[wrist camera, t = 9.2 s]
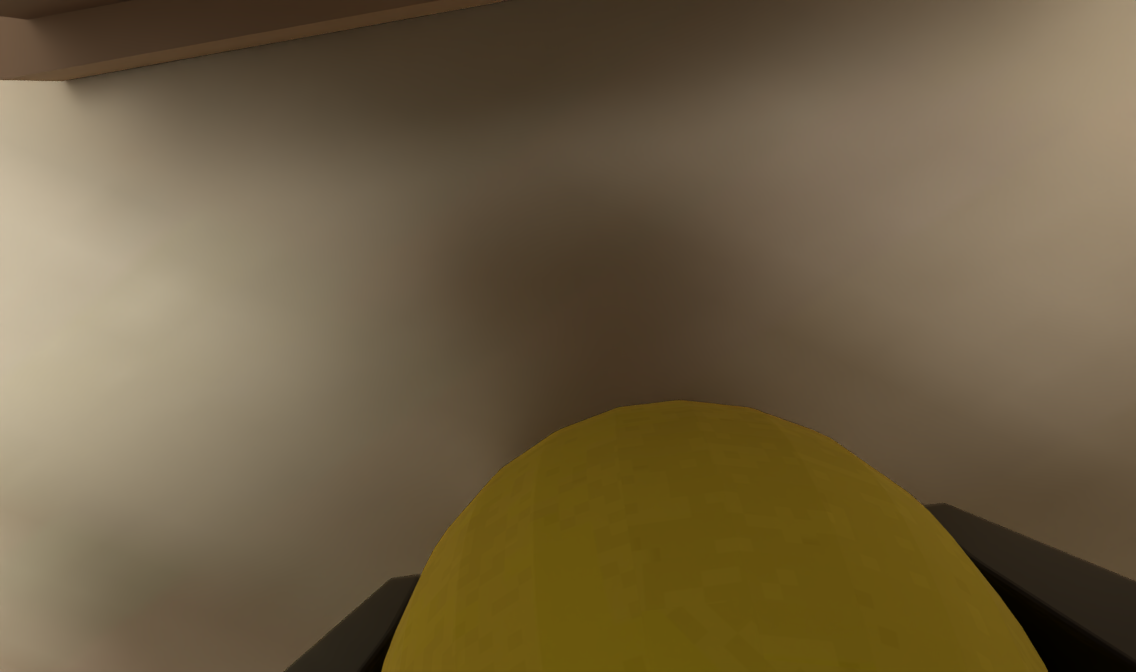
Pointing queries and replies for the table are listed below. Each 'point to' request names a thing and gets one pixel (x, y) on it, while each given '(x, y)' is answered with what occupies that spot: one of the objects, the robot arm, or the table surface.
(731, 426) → the lemon
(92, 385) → the table surface
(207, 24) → the wooden box
